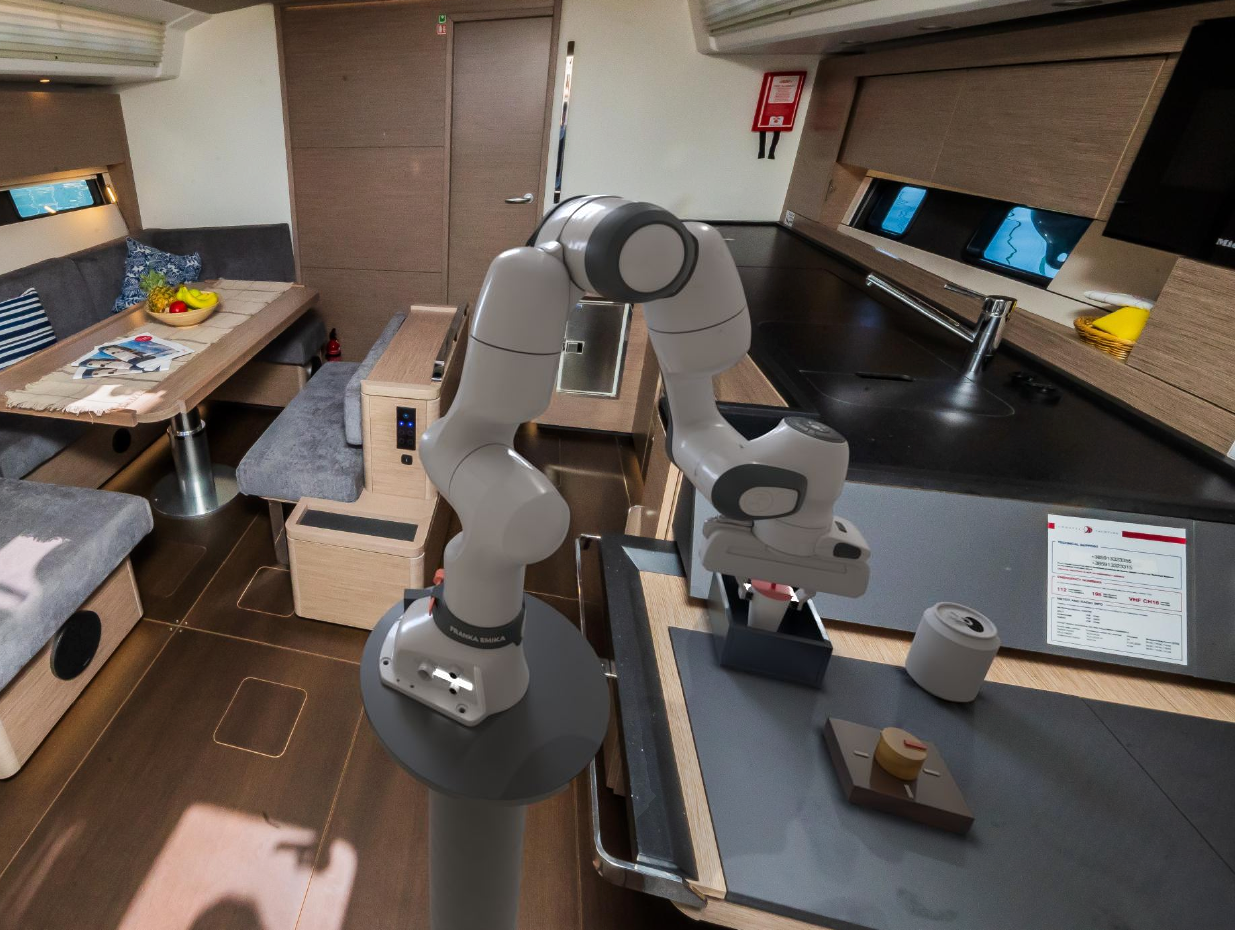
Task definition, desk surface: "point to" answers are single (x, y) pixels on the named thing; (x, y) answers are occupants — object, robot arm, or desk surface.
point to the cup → (768, 604)
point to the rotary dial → (895, 780)
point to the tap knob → (900, 753)
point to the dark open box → (767, 637)
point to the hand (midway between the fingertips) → (768, 601)
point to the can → (952, 651)
